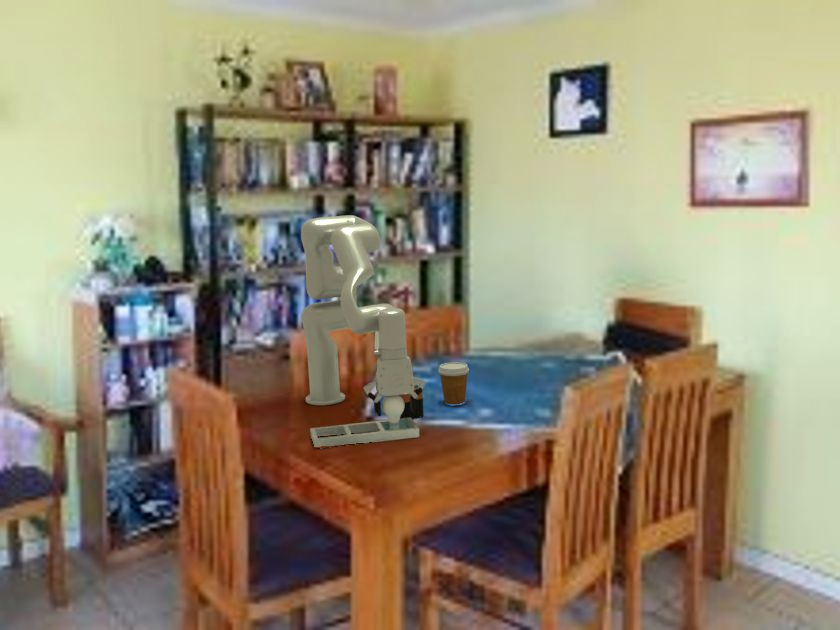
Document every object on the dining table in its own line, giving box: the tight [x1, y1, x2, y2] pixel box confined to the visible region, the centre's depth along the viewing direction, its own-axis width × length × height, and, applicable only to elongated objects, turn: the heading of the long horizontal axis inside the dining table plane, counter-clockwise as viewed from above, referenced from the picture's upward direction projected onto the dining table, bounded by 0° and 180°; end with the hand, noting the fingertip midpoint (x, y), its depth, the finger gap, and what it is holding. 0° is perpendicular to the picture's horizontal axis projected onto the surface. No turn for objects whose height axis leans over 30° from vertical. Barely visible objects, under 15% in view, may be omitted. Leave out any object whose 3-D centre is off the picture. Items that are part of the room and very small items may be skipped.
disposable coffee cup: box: [437, 361, 470, 404], centre depth 265 cm, size 10×10×12 cm
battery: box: [399, 382, 424, 420], centre depth 253 cm, size 4×7×10 cm, turn 128°
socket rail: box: [309, 417, 420, 448], centre depth 238 cm, size 10×29×2 cm, turn 103°
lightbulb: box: [381, 395, 405, 430], centre depth 239 cm, size 6×6×11 cm
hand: (395, 413), depth 239 cm, fingers open, 9 cm apart
